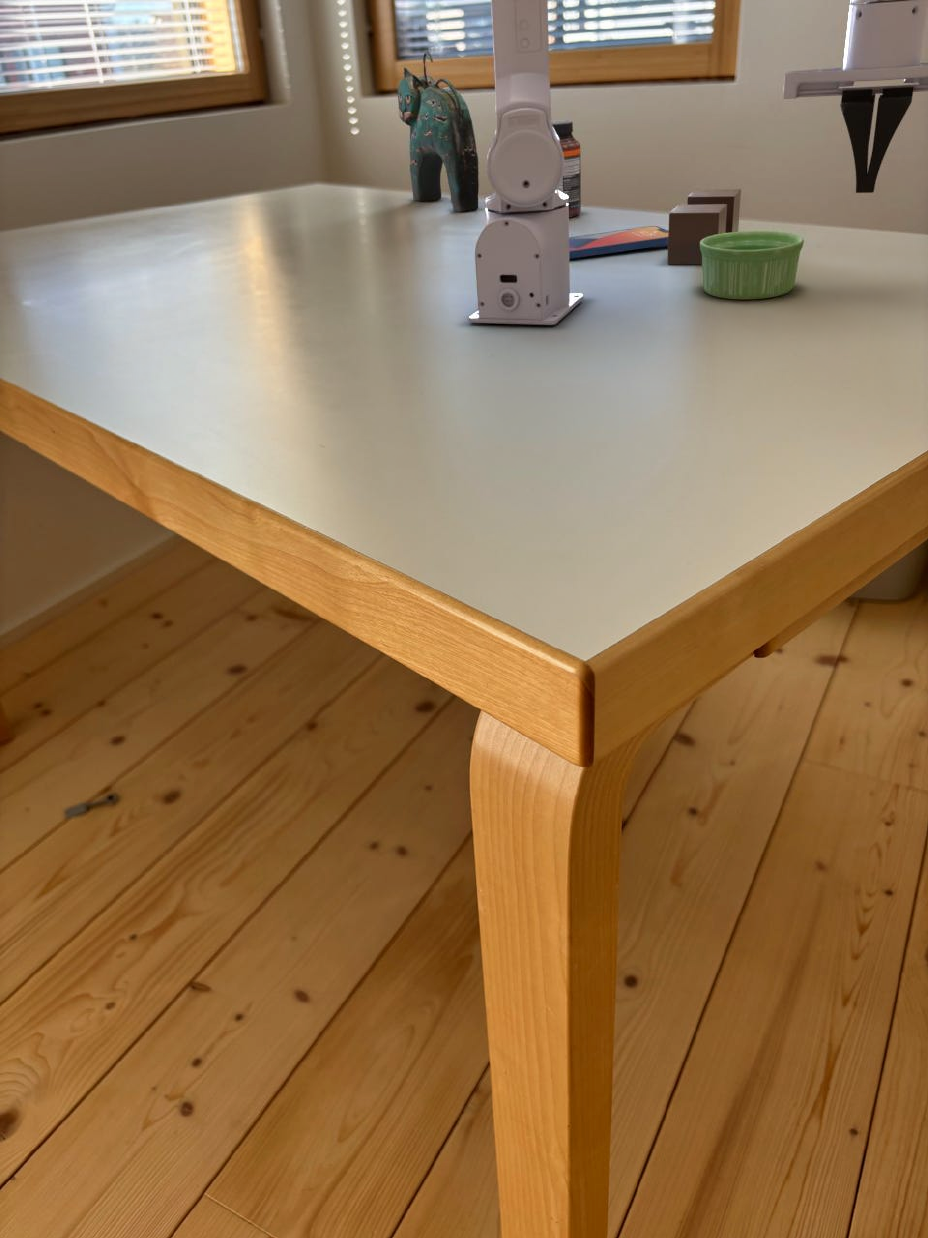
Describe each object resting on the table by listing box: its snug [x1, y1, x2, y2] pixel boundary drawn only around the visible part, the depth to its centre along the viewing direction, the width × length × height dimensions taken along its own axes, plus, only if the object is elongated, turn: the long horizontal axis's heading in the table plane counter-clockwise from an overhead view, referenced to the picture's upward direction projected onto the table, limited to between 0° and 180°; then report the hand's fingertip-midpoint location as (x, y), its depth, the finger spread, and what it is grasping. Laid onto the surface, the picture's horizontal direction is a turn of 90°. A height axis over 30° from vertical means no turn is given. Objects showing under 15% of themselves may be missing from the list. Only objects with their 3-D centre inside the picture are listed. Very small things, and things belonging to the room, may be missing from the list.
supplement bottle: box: [552, 119, 582, 218], centre depth 130 cm, size 6×6×11 cm
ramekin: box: [700, 230, 805, 300], centre depth 90 cm, size 9×9×4 cm
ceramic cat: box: [397, 50, 480, 213], centre depth 144 cm, size 20×6×20 cm, turn 24°
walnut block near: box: [666, 204, 727, 266], centre depth 103 cm, size 5×5×5 cm
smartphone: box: [569, 225, 669, 260], centre depth 111 cm, size 7×15×1 cm, turn 104°
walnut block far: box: [686, 188, 742, 233], centre depth 110 cm, size 5×5×5 cm
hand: (864, 190), depth 84 cm, fingers closed
